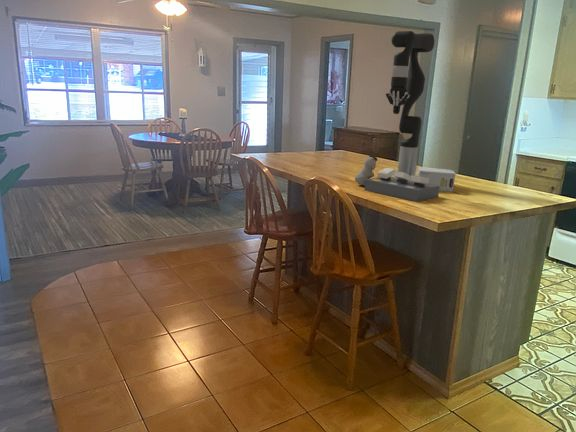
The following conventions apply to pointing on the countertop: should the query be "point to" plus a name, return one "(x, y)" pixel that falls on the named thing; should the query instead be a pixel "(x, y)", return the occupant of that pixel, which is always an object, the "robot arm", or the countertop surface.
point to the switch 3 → (419, 179)
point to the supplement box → (438, 177)
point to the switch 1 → (386, 173)
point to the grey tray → (402, 188)
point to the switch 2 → (402, 175)
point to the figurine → (366, 170)
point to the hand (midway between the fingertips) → (396, 113)
